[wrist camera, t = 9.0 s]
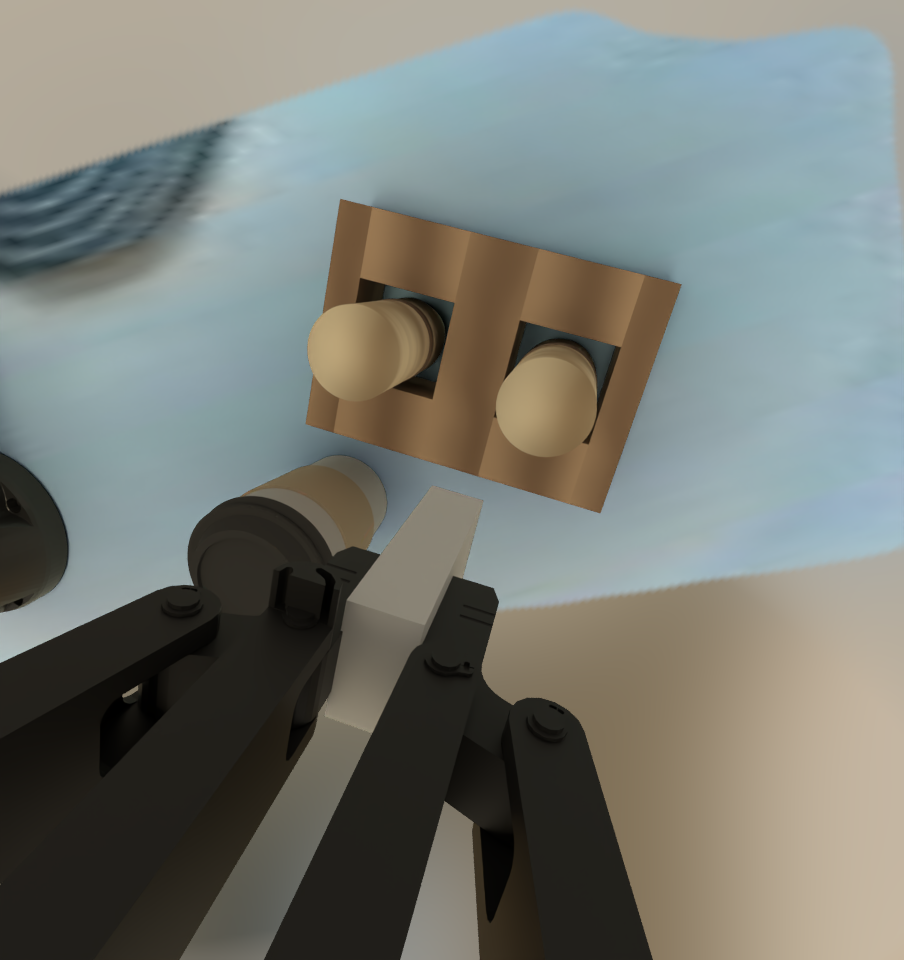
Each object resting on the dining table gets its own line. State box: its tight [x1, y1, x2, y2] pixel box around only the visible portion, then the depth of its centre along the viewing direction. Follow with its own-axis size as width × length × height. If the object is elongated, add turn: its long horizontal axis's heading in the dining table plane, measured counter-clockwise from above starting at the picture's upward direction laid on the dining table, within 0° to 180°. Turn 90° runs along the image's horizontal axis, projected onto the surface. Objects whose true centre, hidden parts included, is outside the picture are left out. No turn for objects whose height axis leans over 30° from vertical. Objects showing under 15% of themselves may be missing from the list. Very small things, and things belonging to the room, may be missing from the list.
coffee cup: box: [188, 455, 387, 616], centre depth 41 cm, size 9×9×15 cm
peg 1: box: [307, 298, 445, 402], centre depth 36 cm, size 5×5×12 cm
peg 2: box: [496, 338, 597, 457], centre depth 35 cm, size 5×5×12 cm
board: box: [306, 199, 682, 513], centre depth 39 cm, size 20×14×5 cm
